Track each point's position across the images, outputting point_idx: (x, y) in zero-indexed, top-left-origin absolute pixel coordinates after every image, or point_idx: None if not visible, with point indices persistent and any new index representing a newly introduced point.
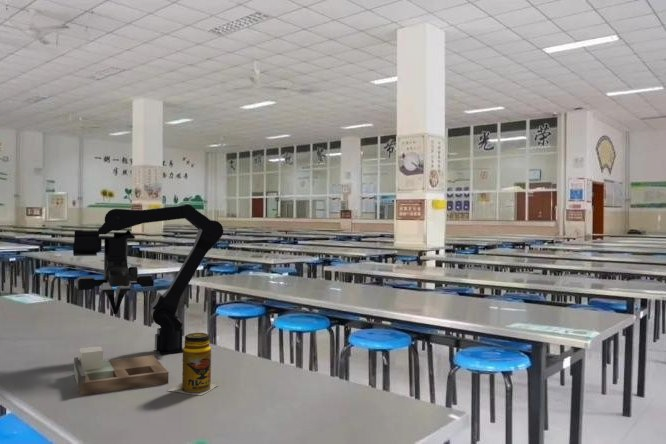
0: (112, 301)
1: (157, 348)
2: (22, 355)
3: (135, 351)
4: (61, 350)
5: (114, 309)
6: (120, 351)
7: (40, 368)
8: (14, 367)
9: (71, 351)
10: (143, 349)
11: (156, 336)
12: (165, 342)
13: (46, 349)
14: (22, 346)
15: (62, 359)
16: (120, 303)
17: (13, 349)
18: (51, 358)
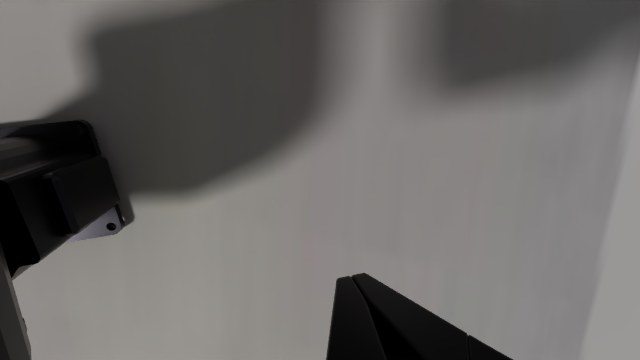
0: (458, 351)
1: (95, 156)
2: (565, 254)
3: (216, 217)
4: (465, 289)
5: (377, 293)
6: (278, 231)
7: (551, 70)
8: (609, 115)
9: (439, 270)
10: (182, 241)
11: (65, 188)
12: (21, 149)
13: (501, 308)
14: (548, 351)
15: (476, 172)
16: (331, 353)
17: (572, 324)
18: (503, 195)
